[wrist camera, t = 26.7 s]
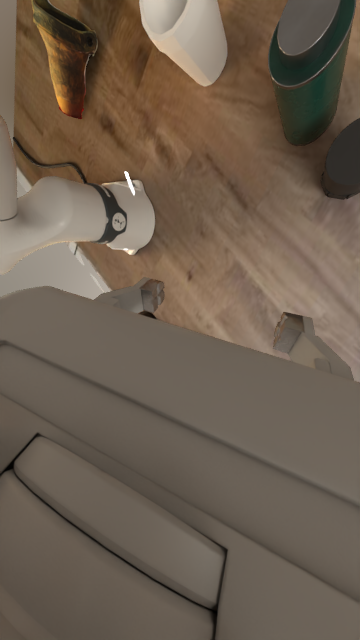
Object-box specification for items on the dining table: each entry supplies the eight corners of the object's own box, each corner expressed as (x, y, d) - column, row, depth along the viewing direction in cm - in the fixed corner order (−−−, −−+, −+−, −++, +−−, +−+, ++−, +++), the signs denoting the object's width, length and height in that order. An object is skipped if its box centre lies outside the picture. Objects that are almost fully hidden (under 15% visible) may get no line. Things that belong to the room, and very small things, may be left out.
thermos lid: (313, 194, 32) (314, 180, 25) (338, 144, 29) (347, 111, 22) (359, 202, 30) (374, 189, 22) (392, 147, 26) (422, 112, 19)
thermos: (276, 144, 33) (252, 75, 19) (297, 86, 29) (286, -45, 16) (320, 147, 30) (327, 70, 17) (348, 85, 27) (385, -74, 13)
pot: (24, 93, 49) (-9, -52, 34) (59, 92, 55) (44, -30, 41) (82, 131, 50) (74, 6, 35) (110, 126, 56) (113, 19, 41)
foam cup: (227, -2, 30) (185, -126, 20) (243, 64, 32) (211, -21, 22) (181, 58, 36) (130, -15, 26) (196, 111, 38) (153, 62, 27)
